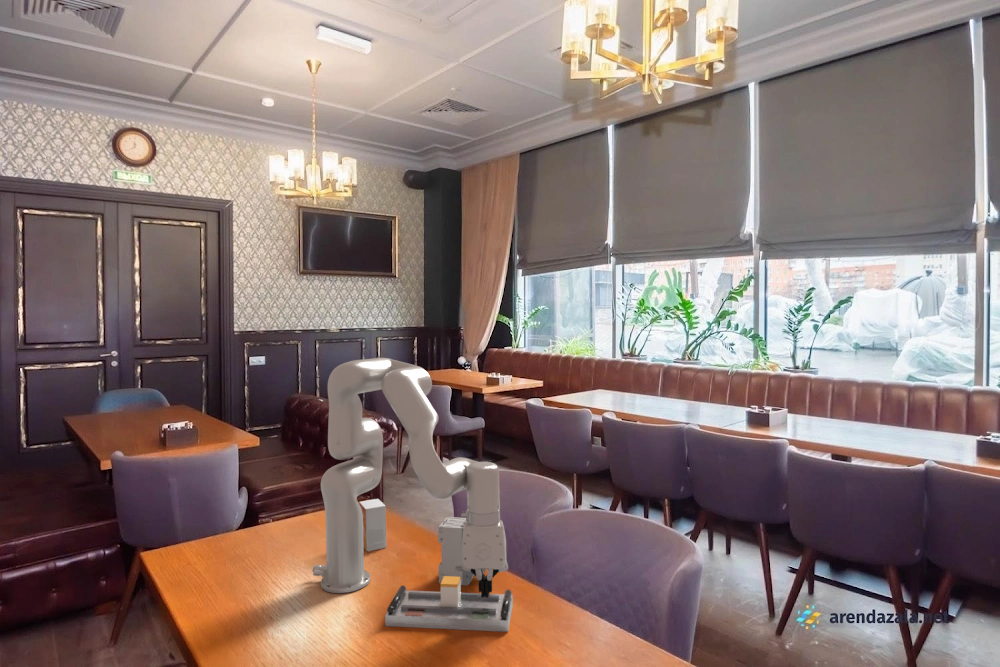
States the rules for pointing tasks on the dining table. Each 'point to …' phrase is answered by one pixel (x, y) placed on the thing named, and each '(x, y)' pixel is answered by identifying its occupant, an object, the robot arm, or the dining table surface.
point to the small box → (374, 524)
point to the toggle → (450, 591)
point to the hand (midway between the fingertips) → (485, 594)
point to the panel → (450, 611)
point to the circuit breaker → (452, 550)
